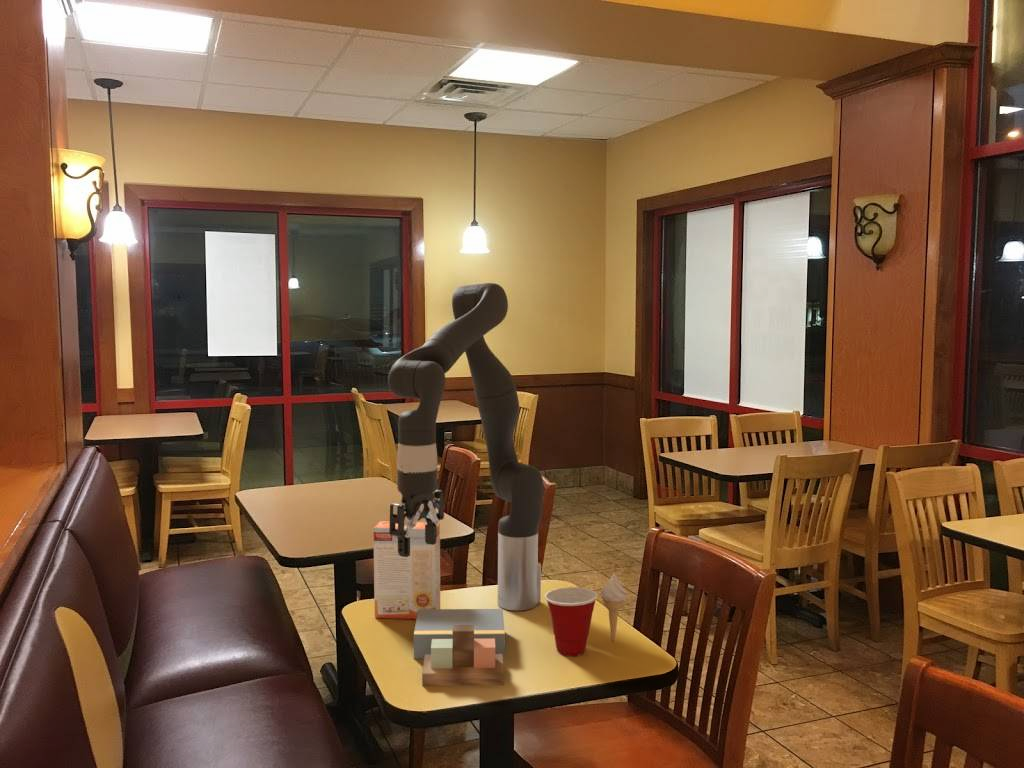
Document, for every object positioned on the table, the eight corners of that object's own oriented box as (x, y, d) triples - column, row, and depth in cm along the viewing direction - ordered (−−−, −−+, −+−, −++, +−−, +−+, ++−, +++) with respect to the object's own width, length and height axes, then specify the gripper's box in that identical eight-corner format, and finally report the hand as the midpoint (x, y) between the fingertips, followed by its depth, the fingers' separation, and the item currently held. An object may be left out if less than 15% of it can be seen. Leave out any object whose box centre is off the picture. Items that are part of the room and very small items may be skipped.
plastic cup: (567, 634, 178) (568, 579, 176) (607, 650, 170) (609, 593, 169) (532, 649, 170) (533, 592, 169) (572, 666, 163) (573, 607, 161)
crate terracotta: (494, 658, 160) (494, 638, 160) (495, 667, 156) (495, 647, 156) (473, 658, 160) (474, 638, 160) (473, 668, 156) (473, 647, 156)
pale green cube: (453, 658, 160) (453, 638, 160) (452, 668, 156) (452, 647, 156) (432, 659, 160) (432, 639, 159) (430, 668, 156) (430, 648, 155)
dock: (502, 631, 179) (502, 608, 178) (504, 658, 166) (504, 633, 166) (418, 631, 178) (418, 609, 178) (413, 658, 165) (413, 634, 165)
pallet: (502, 666, 163) (502, 619, 162) (503, 686, 155) (503, 636, 154) (424, 667, 162) (424, 619, 161) (422, 687, 154) (422, 637, 153)
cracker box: (441, 611, 190) (441, 521, 187) (436, 621, 184) (435, 529, 181) (380, 608, 191) (379, 519, 189) (373, 618, 185) (372, 526, 183)
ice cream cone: (607, 648, 171) (609, 578, 169) (594, 638, 176) (596, 569, 174) (631, 644, 173) (633, 574, 171) (617, 633, 178) (619, 566, 176)
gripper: (423, 457, 165) (423, 537, 167) (377, 471, 153) (378, 557, 155) (454, 461, 161) (454, 543, 163) (410, 476, 149) (411, 563, 151)
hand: (417, 549), depth 159 cm, fingers open, 8 cm apart
